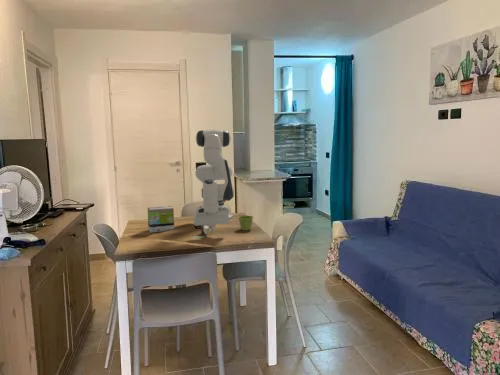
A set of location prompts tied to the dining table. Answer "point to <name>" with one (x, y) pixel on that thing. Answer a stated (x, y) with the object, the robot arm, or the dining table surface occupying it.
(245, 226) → the plant pot
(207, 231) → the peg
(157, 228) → the tea box
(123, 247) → the dining table surface
